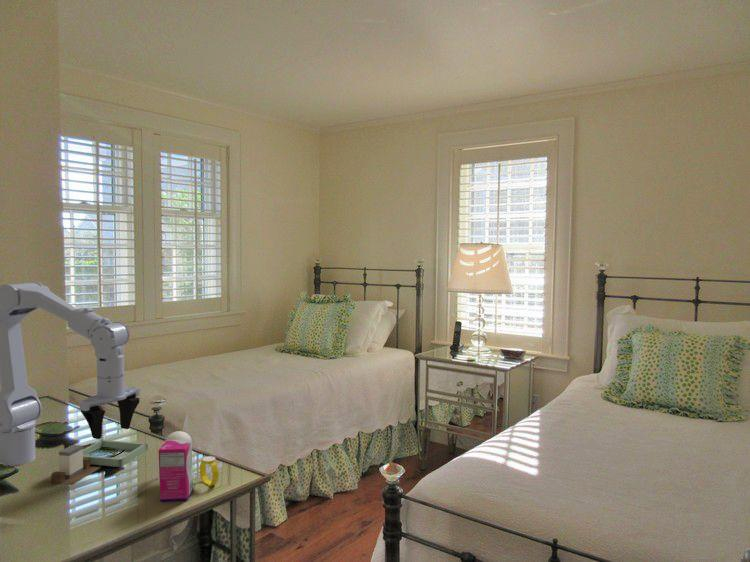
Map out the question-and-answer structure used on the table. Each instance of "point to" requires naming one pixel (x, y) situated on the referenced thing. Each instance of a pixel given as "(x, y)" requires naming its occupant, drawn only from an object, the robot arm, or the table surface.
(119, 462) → the parts tray
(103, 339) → the robot arm
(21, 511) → the table surface
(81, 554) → the table surface
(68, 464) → the block
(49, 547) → the table surface
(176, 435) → the lightbulb
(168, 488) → the supplement box
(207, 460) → the watch
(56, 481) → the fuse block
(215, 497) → the table surface
